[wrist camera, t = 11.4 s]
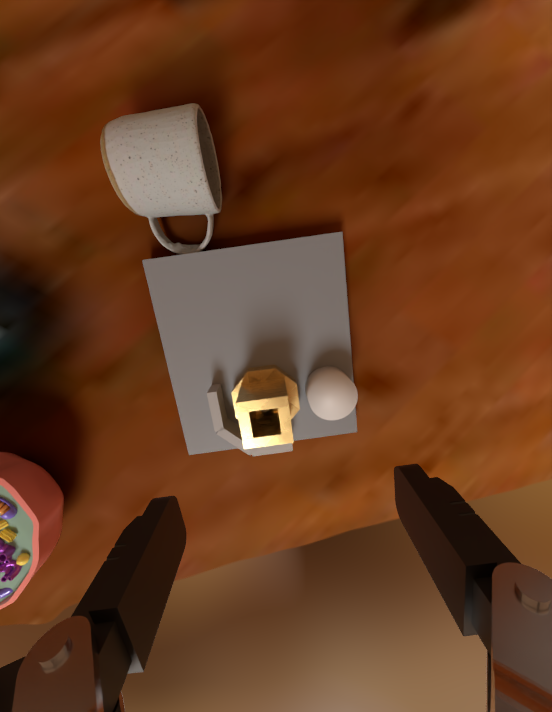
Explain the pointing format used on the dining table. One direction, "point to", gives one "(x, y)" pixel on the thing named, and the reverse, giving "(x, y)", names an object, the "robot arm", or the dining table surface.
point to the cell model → (26, 522)
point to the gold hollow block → (265, 406)
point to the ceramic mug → (164, 167)
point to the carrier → (256, 334)
